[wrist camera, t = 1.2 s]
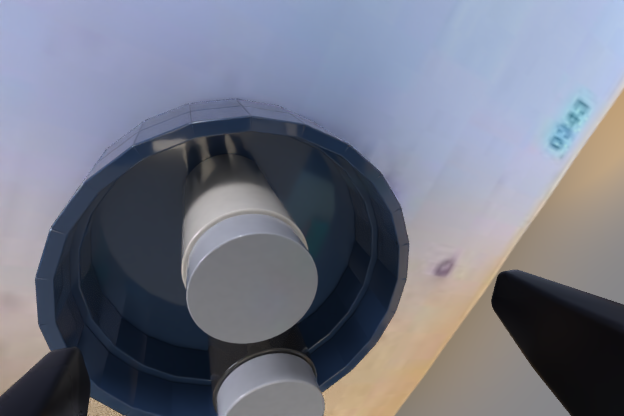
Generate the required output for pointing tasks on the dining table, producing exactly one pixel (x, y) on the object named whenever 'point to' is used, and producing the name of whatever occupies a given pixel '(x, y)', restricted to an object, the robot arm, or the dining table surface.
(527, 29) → the dining table surface
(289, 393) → the pepper shaker
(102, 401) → the bowl
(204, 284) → the salt shaker
